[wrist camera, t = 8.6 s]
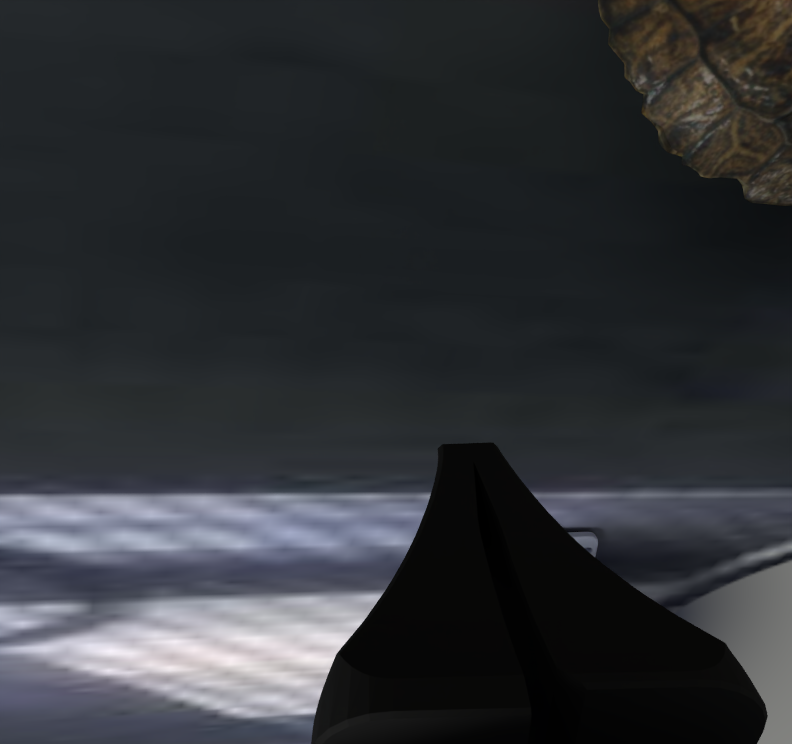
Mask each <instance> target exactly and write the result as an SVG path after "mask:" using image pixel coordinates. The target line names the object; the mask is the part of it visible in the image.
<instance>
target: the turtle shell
mask: <svg viewBox="0 0 792 744" xmlns="http://www.w3.org/2000/svg"><path fill="white" fill-rule="evenodd" d="M598 6H599V12H600V16H601V19H602V20H603V22H604V23H605V24H606V25H607V27H608V28H609V40H608V45H609V46H610V47H611V48H612V49H613V51H614V52H615V53H616V54H617V55H618V57H619V58H620V59H621V60H622V61H623V63H624V64H625V78H626V79H627V80H628V81H630V83H631V84H632V86H633V87H634V88H635V90H636V91H638V92H640V93H642V94H644V95H643V105H642V114H643V115H644V116H645V117H646V118H647V119H649V120H650V121H651V122H652V123H653V125H654V126H655V128H656V129H657V130H658V136H659V144H660V145H661V146H662V147H663V148H664V149H665V150H666V151H667V152H668V153H672V154H675V155H678V156H681V157H682V165H685V166H689V167H691V168H693V169H694V170H695V171H697V172H698V173H699V175H700V176H701V177H705V178H718V177H724V178H736V179H738V181H739V182H740V183H741V184H742V187H743V193H744V198H745V199H746V200H748V201H749V202H751V203H761V204H772V205H780V206H792V0H598Z"/></svg>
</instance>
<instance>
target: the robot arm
mask: <svg viewBox="0 0 792 744" xmlns="http://www.w3.org/2000/svg"><path fill="white" fill-rule="evenodd" d="M587 547H588V548H587ZM597 547H598V539H597V537H596V535H595V534H594V533H592V532H567V531H566V530H565V529H564V528H563V527H562V526H561V525H560V524H559V523H558V522H557V521H556V520H555V519H554V518H553V517H552V516H551V515H550V514H549V513H548V512H547V511H546V509H545V508H544V507H543V506H542V505H541V504H540V503H539V501H538V500H537V499H536V498H535V497H534V495H533V494H532V493H531V492H530V491H529V490H528V488H527V487H526V486H525V485H524V483H523V482H522V481H521V480H520V478H519V477H518V476H517V474H516V473H515V472H514V470H513V469H512V468H511V466H510V465H509V463H508V462H507V461H506V459H505V458H504V456H503V455H502V453H501V452H500V450H499V449H498V447H497V446H496V445H495V444H494V443H468V444H443V445H441V446H440V447H439V448H438V467H437V473H436V477H435V482H434V485H433V489H432V492H431V496H430V499H429V503H428V505H427V508H426V511H425V513H424V516H423V519H422V521H421V524H420V526H419V529H418V531H417V533H416V536H415V538H414V540H413V542H412V544H411V546H410V548H409V550H408V552H407V554H406V556H405V558H404V560H403V562H402V564H401V565H400V567H399V569H398V571H397V572H396V574H395V576H394V578H393V579H392V581H391V583H390V584H389V586H388V587H387V589H386V590H385V592H384V593H383V595H382V596H381V598H380V599H379V600H378V602H377V603H376V605H375V606H374V608H373V609H372V610H371V612H370V613H369V615H368V616H367V618H366V619H365V620H364V621H363V623H362V624H361V625H360V627H359V628H358V629H357V630H356V631H355V632H354V634H353V635H352V636H351V637H350V638H349V640H348V641H347V642H346V643H345V644H344V646H343V647H342V648H341V649H340V650H339V652H338V653H337V654H336V657H335V659H334V662H333V664H332V667H331V669H330V671H329V674H328V676H327V679H326V682H325V685H324V687H323V690H322V693H321V696H320V700H319V703H318V707H317V711H316V715H315V719H314V725H313V733H312V742H311V744H757V742H758V740H759V738H760V737H761V735H762V733H763V730H764V727H765V723H766V720H767V711H766V707H765V703H764V702H763V700H762V698H761V697H760V695H759V693H758V692H757V690H756V688H755V687H754V685H753V683H752V681H751V680H750V678H749V677H748V675H747V674H746V672H745V670H744V669H743V667H742V666H741V665H740V663H739V662H738V661H737V659H736V658H735V657H734V655H733V654H732V652H731V651H730V650H729V648H728V647H727V645H726V644H725V643H724V642H722V641H721V640H719V639H717V638H715V637H714V636H712V635H710V634H708V633H706V632H705V631H703V630H701V629H700V628H698V627H696V626H694V625H692V624H691V623H689V622H687V621H686V620H684V619H682V618H680V617H678V616H677V615H675V614H674V613H672V612H670V611H669V610H667V609H666V608H664V607H663V606H661V605H659V604H658V603H656V602H655V601H653V600H652V599H650V598H649V597H647V596H646V595H644V594H643V593H641V592H640V591H638V590H637V589H636V588H634V587H633V586H631V585H630V584H629V583H627V582H626V581H625V580H623V579H622V578H621V577H619V576H618V575H617V574H615V573H614V572H613V571H611V570H610V569H609V568H607V567H606V566H605V565H603V564H602V563H601V562H600V561H599V560H597V559H596V558H595V557H596V552H597ZM585 548H586V549H585Z"/></svg>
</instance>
